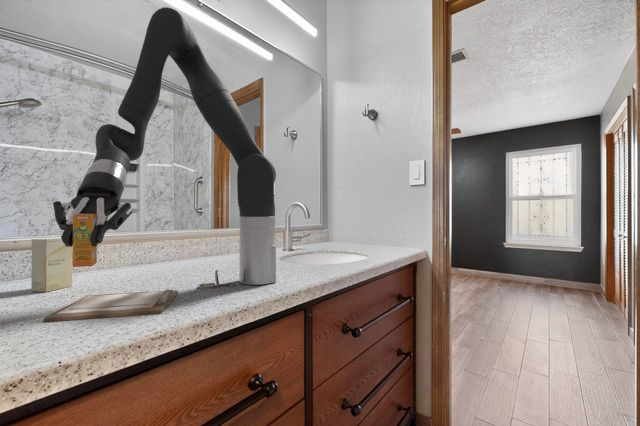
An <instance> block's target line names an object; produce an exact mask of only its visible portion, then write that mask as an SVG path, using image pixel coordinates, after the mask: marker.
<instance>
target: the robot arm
mask: <svg viewBox="0 0 640 426" xmlns="http://www.w3.org/2000/svg"><path fill="white" fill-rule="evenodd" d="M169 57H170V58H171V59H172V61H174V63H175V64H176V65H177V67H178V68H179V70H180V71H181V73H182V74H183V76H184V77H185V79H186V81H187V84H188V85H189V90H190V93H191V97H192V99H193V102H195V103H194V104H195V105H196V107H197V109H198V110H199V112H200V114H201V115H202V117H203V119H204V120H205V121H206V123H207V125H208V126H209V128H210V129H211V130H212V132H213V133H214V134H215V136H216V137H217V138H218V139H219V140H220V141H221V142H222V144H223V145H224V146H225V147H226V148H227V150H228V151H229V153H230V154H231V156H232V158H233V159H234V161H235V163H236V165H237V174H236V175H237V177H236V184H237V204H238V205H237V206H238V211H239V283H240V284H243V285H247V286H258V285H267V284H271V283H272V284H274V283H277V246H276V205H275V204H276V203H275V183H276V178H277V172H276V168H275V166H274V165H273V163H272V161H271V160H270V159H269V158H268V157H266V155H265V154H264V153H263V151H262V150H261V149H260V147H259V146H258V144H257V142H256V141H255V139H254V138H253V135H252V134H251V132H250V130H249V127H248V125H247V123H246V121H245V118H244V117H243V115H242V113H241V110H240V108H239V107H238V105H237V103H236V101H235V99H234V98H233V96H232V95H231V93H230V90H228V88H227V87H226V85H225V84H224V83H223V81H222V80H221V78H220V77H219V75H217V74H216V72H215V71H214V70H213V69H212V68H211V65H210V64H209V61H207V59H206V56H205V54H204V52H203V50H202V48H201V46H200V44H199V42H198V40H197V37H196V35H195V33H194V30H192V28H191V26H190V25H189V24H188V23H187V21H186V20H185V18H184V17H183V16H182V14H181V13H180V12H179V11H177V10H176V9H175V8H171V7H161V8H159V9H157V10H155V12H153V14H152V15H151V16H150V20H149V22H148V24H147V28H146V32H145V36H144V39H143V44H142V47H141V51H140V53H139V58H138V60H137V65H136V68H135V71H134V74H133V76H132V77H133V78H132V79H131V81H130V84H129V87H127V91H126V92H125V94H124V96H123V99H122V100H121V103H120V105H119V107H118V109H117V115H118V116H119V117H120V118H122V119H123V120H124V121H126V122H127V123H128V124H130V125H131V126H132V127H133V129H134V133H133V132H130V131H129V130H126V129H124V128H121V127H119V126H118V125H114V124H112V123H111V124H109V123H108V124H107V123H106V124H103V125H102V126H100V127H99V128H98V130H97V131H96V134H95V148H96V154H95V157H94V159H93V161H92V163H91V165H90V166H89V167H88V169H87V171H86V173H85V174H84V177H83V179H82V181H81V183H80V185H79V187H78V190H77V193H76V196H75V197H74V198H72V199H71V200H70V201H69V202H64V203H62V202H61V201H60V200H56V201H54V202H53V203H52V205H53V210H54V212H53V213H54V218H55V222H56V224H57V225H58V228H59V229H60V230H61V231H63V232H62V233H61V237H60V238H61V239H62V241H63V243H64V244H65V245H66V247H72V248H73V215H74V214H97V225H95V227H94V229H93V232H92V235H91V237H90V242H91V245H92V246H97V247H98V245H99V244H101V243H102V242H103V240H104V236H105V234H106V232H107V231H108V230H109V231H110V230H112V231H117V230H118V229H119V228H120V227H121V226H122V224H124V222H126V221H127V219H128V218H129V217H130V216H131V215H132V214H133V209H132V205H131V203H130V202H125V203H121V202H120V201H121V197H122V196H123V192H124V189H125V187H126V183H127V176H128V173H129V170H130V167H131V162H134V161H137V160H138V159H140V158H141V156H142V155H143V152H144V148H145V139H146V132H147V128H148V125H149V122H150V120H151V118H152V116H153V114H154V112H155V109H156V107H157V105H158V103H159V99H160V94H161V89H162V87H161V86H162V77H163V72H164V68H165V64H166V62H167V59H168V58H169ZM72 209H73V211H72V212H71V216H70V217H69V218H68V219H67V215H69V213H70V211H71V210H72ZM113 213H114V214H113ZM112 214H113V215H112ZM109 216H111V217H110V218H109Z"/></svg>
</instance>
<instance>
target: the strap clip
mask: <svg viewBox="0 0 640 426" xmlns="http://www.w3.org/2000/svg"><path fill="white" fill-rule="evenodd" d="M218 272H219V270H217V269H216V270H215V271H214V280H215V283H214V282H203V283H199V284H198V286H197V290H207V289H210V290H211V289H215V287H217V288H218V289H221V288H233V287H234V288H235V283H231V282H230V283H220V281H219V275H218Z"/></svg>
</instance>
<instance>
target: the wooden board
mask: <svg viewBox="0 0 640 426" xmlns="http://www.w3.org/2000/svg"><path fill="white" fill-rule="evenodd" d="M178 294H179V289H178V290H177V289H176V290H173V289H165V290H158V291H141V292H140V291H139V292H123V293H122V292H121V293H108V294H107V293H106V294H104V293H103V294H102V293H101V294H91V295H90V294H88V295H85V296H83V297H81V298H79V299H78V300H76V301H74V302H71V303H70V304H68V305H66V306H64V307H62V308H61V309H59V310H57V311H54V312H53V313H51V314H49V315H47V316H45V317H43V323H46V322H61V321H73V320H74V321H76V320H87V319H100V318H101V319H102V318H113V317H116V318H117V317H127V316H142V315H155V314H156V315H157V314H162V313H163V312H164V311H165V309H166V308H167V307H169V304H171V302H172V301H173V300H174V299H175V298H176V296H177V295H178Z"/></svg>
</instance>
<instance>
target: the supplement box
mask: <svg viewBox="0 0 640 426" xmlns="http://www.w3.org/2000/svg"><path fill="white" fill-rule="evenodd" d="M97 224H98V223H97V214H74V215H73V245H72V268H80V267H82V268H83V267H93V266H95V265H96V264H97V261H98V260H97V259H98V257H97V253H98V248H97V247H98V246H92V245H91V242H90V237H91V235H92V232H93V229H94V227H95V225H97Z"/></svg>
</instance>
